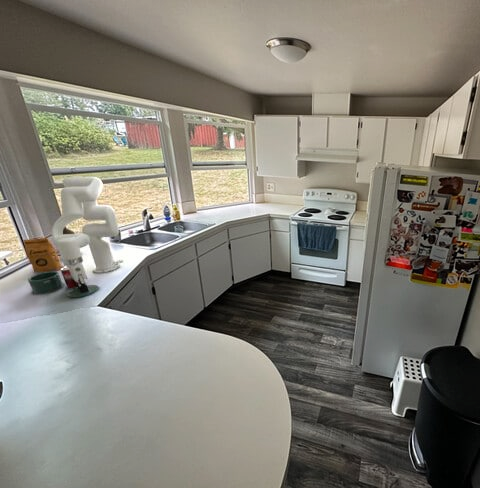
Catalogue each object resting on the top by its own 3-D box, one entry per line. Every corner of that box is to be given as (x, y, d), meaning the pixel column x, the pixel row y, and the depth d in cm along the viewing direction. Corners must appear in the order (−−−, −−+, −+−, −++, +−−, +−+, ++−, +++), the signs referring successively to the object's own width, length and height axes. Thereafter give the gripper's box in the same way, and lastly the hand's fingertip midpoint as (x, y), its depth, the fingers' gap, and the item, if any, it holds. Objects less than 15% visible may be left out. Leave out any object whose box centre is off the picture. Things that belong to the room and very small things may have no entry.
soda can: (74, 289, 142) (67, 271, 137) (63, 288, 143) (56, 269, 139) (87, 283, 148) (81, 265, 144) (78, 282, 150) (71, 264, 145)
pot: (59, 280, 151) (54, 268, 149) (66, 289, 142) (61, 276, 139) (31, 288, 142) (25, 275, 140) (36, 298, 133) (30, 284, 130)
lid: (94, 284, 148) (92, 275, 146) (101, 291, 141) (99, 282, 139) (65, 293, 138) (62, 284, 136) (71, 301, 132) (68, 291, 130)
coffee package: (57, 271, 161) (45, 239, 154) (31, 274, 157) (17, 242, 149) (65, 265, 170) (53, 235, 162) (40, 268, 165) (27, 237, 158)
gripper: (86, 262, 132) (96, 292, 138) (78, 254, 141) (87, 283, 147) (67, 267, 126) (78, 298, 132) (59, 258, 135) (70, 288, 141)
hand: (83, 290), depth 139 cm, fingers open, 4 cm apart
